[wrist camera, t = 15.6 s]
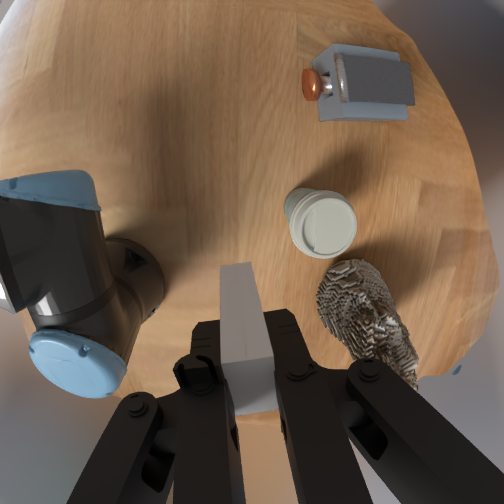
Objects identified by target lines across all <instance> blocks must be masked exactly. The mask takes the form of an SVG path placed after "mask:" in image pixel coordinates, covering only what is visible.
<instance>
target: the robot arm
mask: <svg viewBox="0 0 504 504" xmlns="http://www.w3.org/2000/svg"><path fill="white" fill-rule="evenodd" d="M100 211H101V207H100V206H99V205H98V201H97V196H96V191H95V186H94V181H93V179H92V177H91V176H90V175H89V174H88V173H87V172H85V171H83V170H63V171H53V172H45V173H38V174H31V175H25V176H20V177H15V178H11V179H5V180H1V181H0V308H1V309H4V310H6V311H8V312H10V313H12V314H15V313H17V312H19V311H21V310H23V309H25V308H27V309H28V311H29V313H30V316H31V318H32V320H33V323H34V325H35V327H36V332H34V333H33V334H32V335H31V338H30V339H31V340H30V345H29V353H30V356H31V359H32V361H33V362H34V364H35V366H36V367H37V368H38V370H39V371H40V372H41V373H42V374H43V375H44V376H45V377H46V378H47V379H49V380H50V381H51V382H52V383H54V384H55V385H57V386H58V387H60V388H62V389H64V390H66V391H68V392H70V393H73V394H75V395H78V396H82V397H88V398H103V397H107V396H109V395H111V394H113V393H114V392H115V391H116V390H117V389H118V388H119V386H120V384H121V382H122V379H123V377H124V376H125V374H126V372H127V365H128V362H129V359H130V355H131V352H132V349H133V346H134V343H135V341H136V338H137V335H138V332H139V329H140V326H141V324H143V323H144V322H145V321H146V320H147V319H148V318H149V317H151V316H152V315H153V314H154V313H155V312H156V310H157V309H158V307H159V305H160V303H161V300H162V297H163V294H164V277H163V273H162V270H161V268H160V266H159V264H158V262H157V261H156V259H155V258H154V257H153V255H152V254H151V253H150V252H149V251H147V250H146V249H145V248H144V247H142V246H141V245H139V244H137V243H135V242H133V241H130V240H126V239H120V238H114V239H108V240H105V236H104V231H103V226H102V220H101V214H100ZM191 340H192V341H191V349H190V354H188V355H186V356H184V357H182V358H180V359H179V360H178V361H177V362H176V363H175V365H174V368H173V372H174V374H175V377H176V379H177V381H178V383H179V386H180V389H179V390H177V391H176V392H174V393H172V394H169V395H166V396H163V397H159V398H155V397H154V396H153V395H152V394H149V393H147V392H135V393H131V394H129V395H128V396H126V397H125V398H123V400H122V401H121V402H120V404H119V405H118V407H117V409H116V410H115V412H114V414H113V416H112V418H111V419H110V421H109V423H108V425H107V427H106V428H105V430H104V432H103V434H102V436H101V438H100V439H99V441H98V443H97V445H96V447H95V449H94V451H93V452H92V455H91V456H90V458H89V460H88V462H87V464H86V466H85V468H84V470H83V472H82V473H81V476H80V478H79V479H78V481H77V483H76V485H75V487H74V489H73V491H72V493H71V496H70V497H69V499H68V501H67V504H166V501H167V498H168V495H169V492H170V489H171V486H172V483H173V480H174V488H173V504H246V500H245V492H244V484H243V475H242V465H241V456H240V446H239V436H238V428H237V425H236V422H235V415H236V416H238V415H246V414H253V413H260V412H266V411H272V410H278V409H279V412H280V420H281V431H282V433H283V435H284V440H285V444H286V449H287V453H288V458H289V462H290V467H291V471H292V476H293V481H294V485H295V489H296V494H297V498H298V503H299V504H373V502H372V499H371V496H370V494H369V491H368V488H367V486H366V483H365V480H364V478H363V475H362V472H361V470H360V467H359V464H358V462H357V459H356V457H355V454H354V451H353V449H352V446H351V444H350V441H349V439H350V440H351V441H352V443H353V444H354V445H355V447H356V448H357V449H358V450H359V452H360V453H361V454H362V456H363V457H364V458H365V459H366V461H367V462H368V463H369V464H370V466H371V467H372V468H373V469H374V471H375V472H376V473H377V475H378V476H379V477H380V478H381V479H382V481H383V482H384V483H385V484H386V486H387V487H388V488H389V489H390V491H391V492H392V493H393V494H394V495H395V497H396V498H397V499H398V500H399V502H400V503H401V504H504V474H503V473H502V472H501V471H500V470H499V469H498V468H497V467H496V466H495V465H494V464H493V463H492V462H491V461H490V460H489V459H488V458H487V457H486V456H484V454H482V453H481V452H480V451H479V450H478V449H477V448H476V447H475V446H474V445H473V444H472V443H471V442H470V441H469V440H468V439H467V438H466V437H465V436H464V435H462V434H461V433H460V432H459V431H458V430H457V429H456V428H455V427H454V426H453V425H452V424H451V423H450V422H449V421H448V420H446V419H445V418H444V417H443V416H442V415H441V414H440V413H439V412H438V411H437V410H436V409H435V408H433V406H431V405H430V404H429V403H428V402H427V401H426V400H425V399H424V398H423V397H422V396H420V394H419V393H418V392H416V391H415V390H414V389H413V388H412V387H411V386H410V385H409V384H408V383H407V382H406V381H405V380H403V379H402V378H401V377H400V376H399V375H398V374H397V373H396V372H395V371H394V370H393V369H392V368H390V367H389V366H388V365H387V364H386V363H385V362H383V361H381V360H380V359H376V358H372V357H371V358H362V359H358V360H356V361H355V362H353V363H352V364H351V365H350V367H349V369H327V368H324V367H321V366H319V365H318V364H317V363H316V362H315V361H313V359H312V358H311V356H310V353H309V351H308V348H307V346H306V343H305V341H304V338H303V336H302V333H301V332H300V328H299V326H298V324H297V321H296V318H295V316H294V314H292V313H291V312H290V311H289V310H287V309H280V310H274V311H268V312H263V310H262V306H261V302H260V298H259V294H258V290H257V286H256V282H255V277H254V273H253V269H252V265H251V262H245V263H239V264H232V265H225V266H220V320H213V321H205V322H198V324H197V325H196V326H195V328H194V329H193V331H192V339H191ZM348 437H349V438H348Z"/></svg>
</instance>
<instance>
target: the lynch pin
mask: <svg viewBox="0 0 504 504" xmlns="http://www.w3.org/2000/svg"><path fill="white" fill-rule="evenodd" d="M302 91H303V95H304V97H305V99H306V100H307V101H317V100H319V98H320V94H333V93H332V85H331V78H330V76H319V73H318V72H317V70H316V69H304V71H303V73H302Z"/></svg>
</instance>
